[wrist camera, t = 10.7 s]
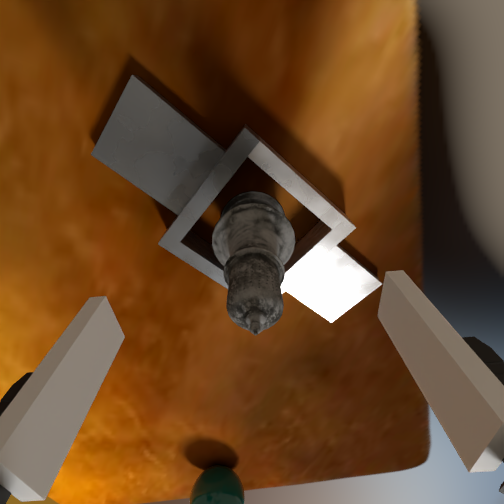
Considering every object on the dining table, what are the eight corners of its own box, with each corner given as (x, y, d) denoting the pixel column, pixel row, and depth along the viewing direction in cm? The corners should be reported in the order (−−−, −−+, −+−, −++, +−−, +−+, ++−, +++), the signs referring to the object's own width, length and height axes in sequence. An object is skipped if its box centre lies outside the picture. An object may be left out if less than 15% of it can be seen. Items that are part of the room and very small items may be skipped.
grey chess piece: (236, 173, 20) (223, 257, 10) (303, 208, 22) (350, 313, 11) (205, 236, 23) (169, 353, 13) (266, 263, 24) (278, 389, 14)
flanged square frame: (85, 175, 21) (65, 185, 18) (155, 42, 17) (140, 34, 14) (312, 327, 28) (318, 346, 26) (398, 261, 24) (412, 278, 22)
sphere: (208, 449, 41) (199, 522, 34) (254, 463, 43) (255, 534, 36) (186, 471, 44) (174, 541, 37) (229, 482, 46) (225, 551, 39)
